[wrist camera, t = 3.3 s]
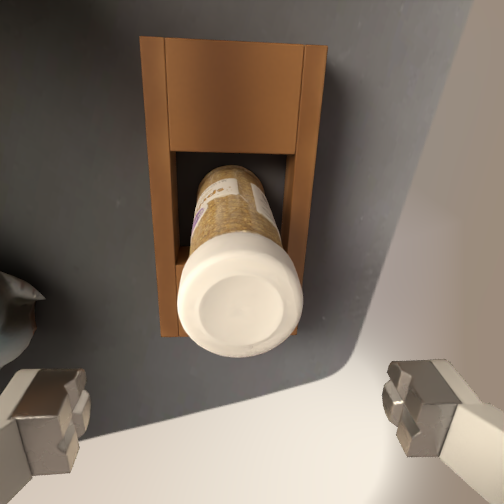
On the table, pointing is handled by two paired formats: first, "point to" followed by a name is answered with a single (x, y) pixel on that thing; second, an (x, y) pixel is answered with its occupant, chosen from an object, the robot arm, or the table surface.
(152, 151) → the oak rack
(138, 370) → the table surface
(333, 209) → the table surface
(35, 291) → the lucky cat figurine
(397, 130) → the table surface
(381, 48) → the table surface
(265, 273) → the sprinkles bottle
